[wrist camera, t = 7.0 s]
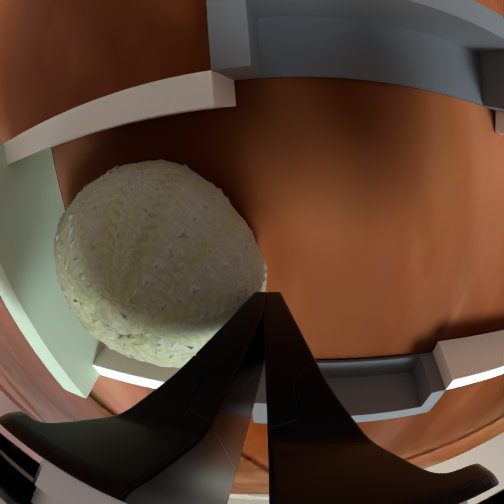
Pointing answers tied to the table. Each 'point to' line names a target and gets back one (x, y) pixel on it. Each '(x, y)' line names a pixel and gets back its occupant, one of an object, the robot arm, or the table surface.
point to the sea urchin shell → (155, 261)
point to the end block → (40, 271)
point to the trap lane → (332, 66)
